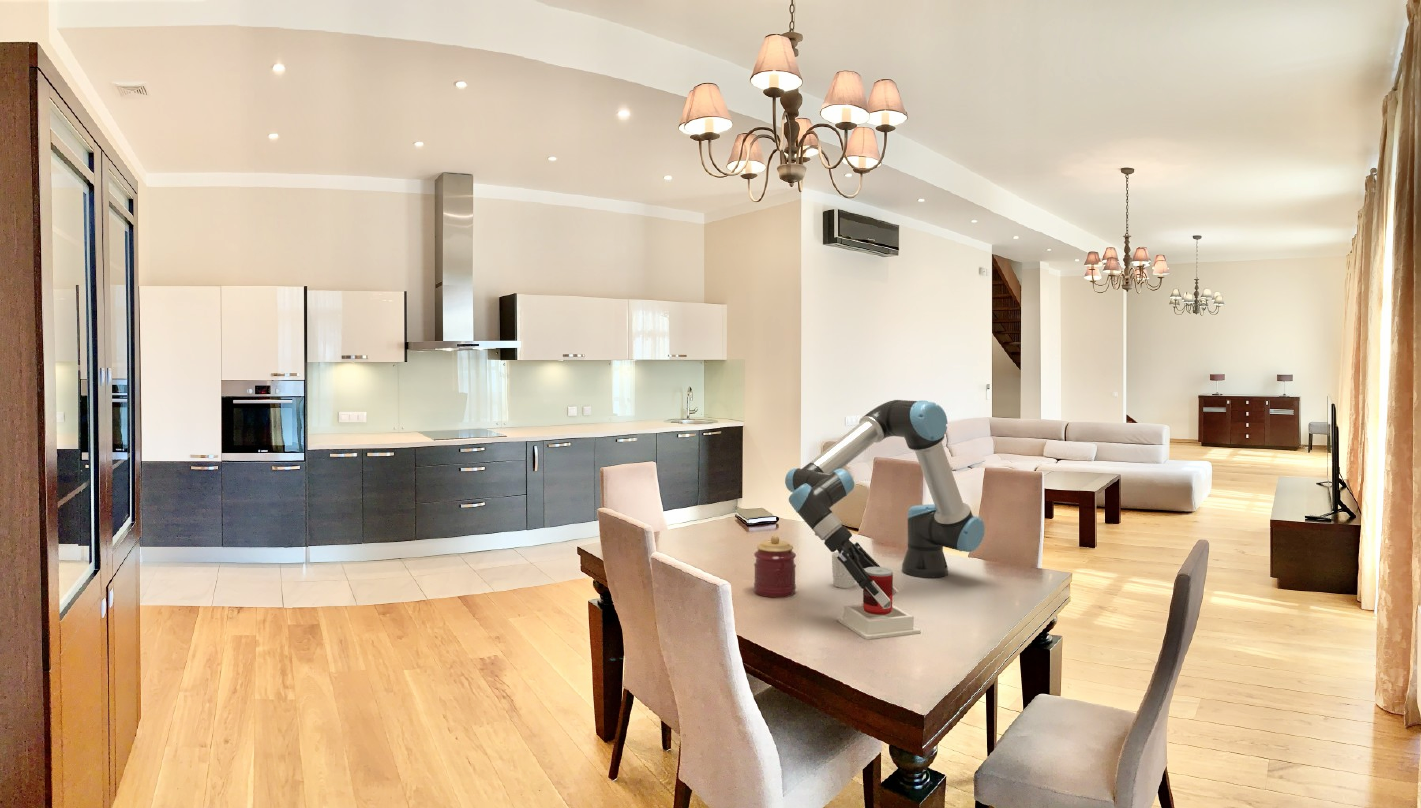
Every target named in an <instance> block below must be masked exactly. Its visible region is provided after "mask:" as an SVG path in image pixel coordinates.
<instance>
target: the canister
mask: <svg viewBox="0 0 1421 808" xmlns="http://www.w3.org/2000/svg"><path fill="white" fill-rule="evenodd" d="M756 548H757V551H755V552H754V553H753V555H754V557H755V562H754V564H753V566H754V582H753V589H754V592H755V593H756V594H757V595H758V596H762V597H768V598H769V597H770V598H786V597H790V596H792V595H794V594H796V588H797V587H796V586H797V584H796V568H797V565H796V563H795V558H796V557H797V555H796V553H795V552H794V551H793V550H794V546H793V544H790V542H787V541H784V540H780V537H779V536H778V535H772V536H771V537H770V539H769V540H764V541H762V542H761V543H759V544H757V546H756Z"/></svg>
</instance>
